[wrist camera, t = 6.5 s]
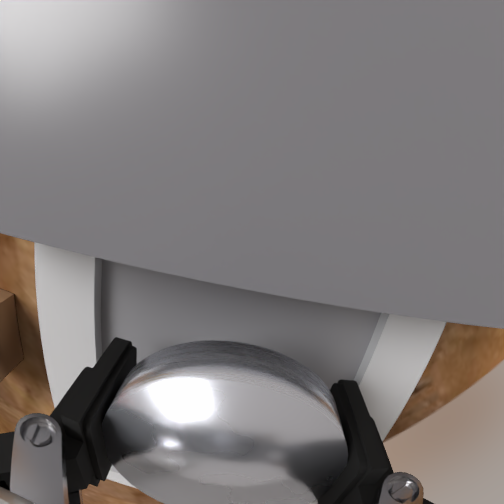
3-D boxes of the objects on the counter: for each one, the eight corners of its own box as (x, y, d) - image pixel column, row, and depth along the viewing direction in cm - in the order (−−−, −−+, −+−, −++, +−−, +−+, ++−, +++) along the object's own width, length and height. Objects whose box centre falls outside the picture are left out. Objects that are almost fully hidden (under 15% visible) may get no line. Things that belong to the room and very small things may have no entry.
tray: (346, 474, 14) (355, 511, 11) (69, 424, 13) (49, 458, 11) (470, 194, 10) (517, 204, 7) (62, 108, 9) (16, 99, 7)
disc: (371, 360, 8) (390, 399, 6) (299, 490, 9) (303, 523, 8) (116, 313, 7) (88, 347, 6) (125, 461, 9) (113, 492, 8)
